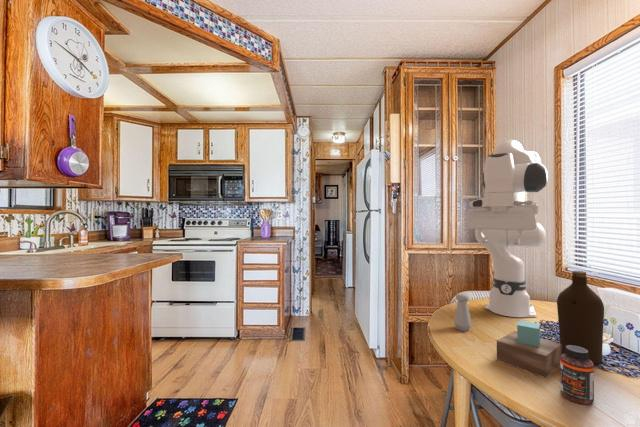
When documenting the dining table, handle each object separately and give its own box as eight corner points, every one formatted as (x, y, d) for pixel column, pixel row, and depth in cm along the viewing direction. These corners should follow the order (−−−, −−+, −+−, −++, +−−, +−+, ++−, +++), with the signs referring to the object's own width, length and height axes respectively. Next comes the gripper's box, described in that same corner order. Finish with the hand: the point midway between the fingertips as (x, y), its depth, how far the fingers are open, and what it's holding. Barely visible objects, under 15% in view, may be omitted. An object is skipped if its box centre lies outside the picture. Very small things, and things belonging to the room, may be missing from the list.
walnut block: (514, 350, 95) (514, 331, 95) (561, 365, 85) (561, 344, 85) (496, 361, 88) (496, 340, 88) (546, 379, 78) (545, 355, 78)
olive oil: (612, 368, 83) (611, 276, 83) (564, 361, 87) (562, 273, 87) (595, 352, 92) (594, 269, 93) (553, 346, 97) (551, 267, 97)
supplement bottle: (558, 397, 70) (557, 348, 70) (562, 387, 74) (561, 340, 74) (593, 409, 66) (592, 356, 66) (595, 397, 70) (594, 348, 70)
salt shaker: (473, 332, 108) (472, 296, 109) (456, 331, 110) (455, 295, 110) (468, 326, 114) (468, 292, 114) (452, 325, 115) (452, 291, 115)
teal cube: (519, 337, 90) (519, 320, 90) (540, 341, 87) (540, 323, 87) (517, 342, 86) (517, 325, 86) (539, 347, 83) (538, 329, 83)
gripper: (539, 200, 96) (539, 244, 96) (469, 202, 110) (470, 241, 110) (536, 200, 92) (537, 246, 92) (464, 202, 105) (465, 242, 105)
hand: (500, 243), depth 101 cm, fingers open, 8 cm apart
